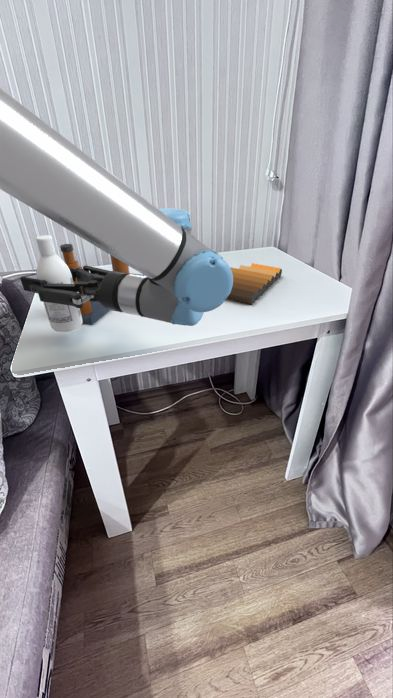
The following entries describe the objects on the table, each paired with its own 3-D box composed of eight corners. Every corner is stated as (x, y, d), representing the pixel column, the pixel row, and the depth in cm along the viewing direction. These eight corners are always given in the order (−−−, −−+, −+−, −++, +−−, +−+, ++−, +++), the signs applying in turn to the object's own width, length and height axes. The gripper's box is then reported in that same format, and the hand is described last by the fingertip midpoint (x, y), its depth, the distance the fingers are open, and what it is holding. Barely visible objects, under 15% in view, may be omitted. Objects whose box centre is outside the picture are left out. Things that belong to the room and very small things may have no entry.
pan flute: (176, 287, 100) (250, 305, 89) (176, 277, 98) (251, 294, 87) (215, 263, 118) (281, 276, 107) (215, 254, 116) (282, 266, 105)
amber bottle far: (118, 286, 101) (108, 226, 91) (112, 281, 104) (102, 223, 94) (132, 282, 103) (125, 224, 93) (127, 277, 106) (119, 221, 96)
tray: (92, 324, 82) (90, 317, 81) (54, 318, 85) (52, 311, 84) (144, 280, 105) (144, 274, 104) (113, 277, 108) (112, 271, 107)
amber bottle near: (75, 318, 83) (57, 249, 73) (70, 311, 87) (52, 244, 77) (94, 313, 85) (79, 246, 75) (88, 306, 89) (74, 241, 79)
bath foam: (67, 315, 78) (45, 230, 67) (89, 322, 76) (69, 234, 64) (44, 328, 73) (16, 239, 62) (67, 336, 70) (41, 243, 59)
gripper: (98, 335, 57) (4, 312, 64) (154, 292, 72) (73, 277, 80) (89, 295, 53) (-10, 276, 60) (151, 258, 68) (66, 247, 75)
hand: (37, 277), depth 70 cm, fingers closed on bath foam, 7 cm apart
